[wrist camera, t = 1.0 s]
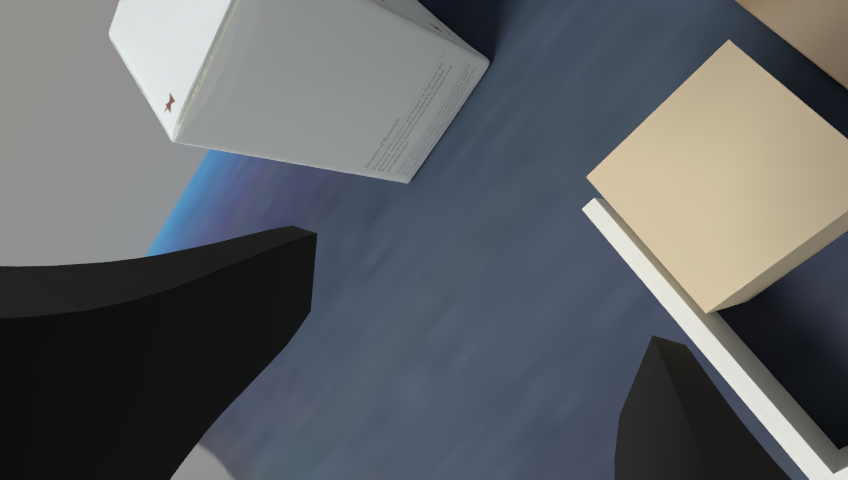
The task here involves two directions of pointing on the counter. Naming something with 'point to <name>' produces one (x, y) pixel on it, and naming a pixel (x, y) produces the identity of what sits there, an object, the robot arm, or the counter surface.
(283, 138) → the supplement box
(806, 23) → the cork mat
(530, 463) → the counter surface
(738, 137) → the kraft carton
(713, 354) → the tray
